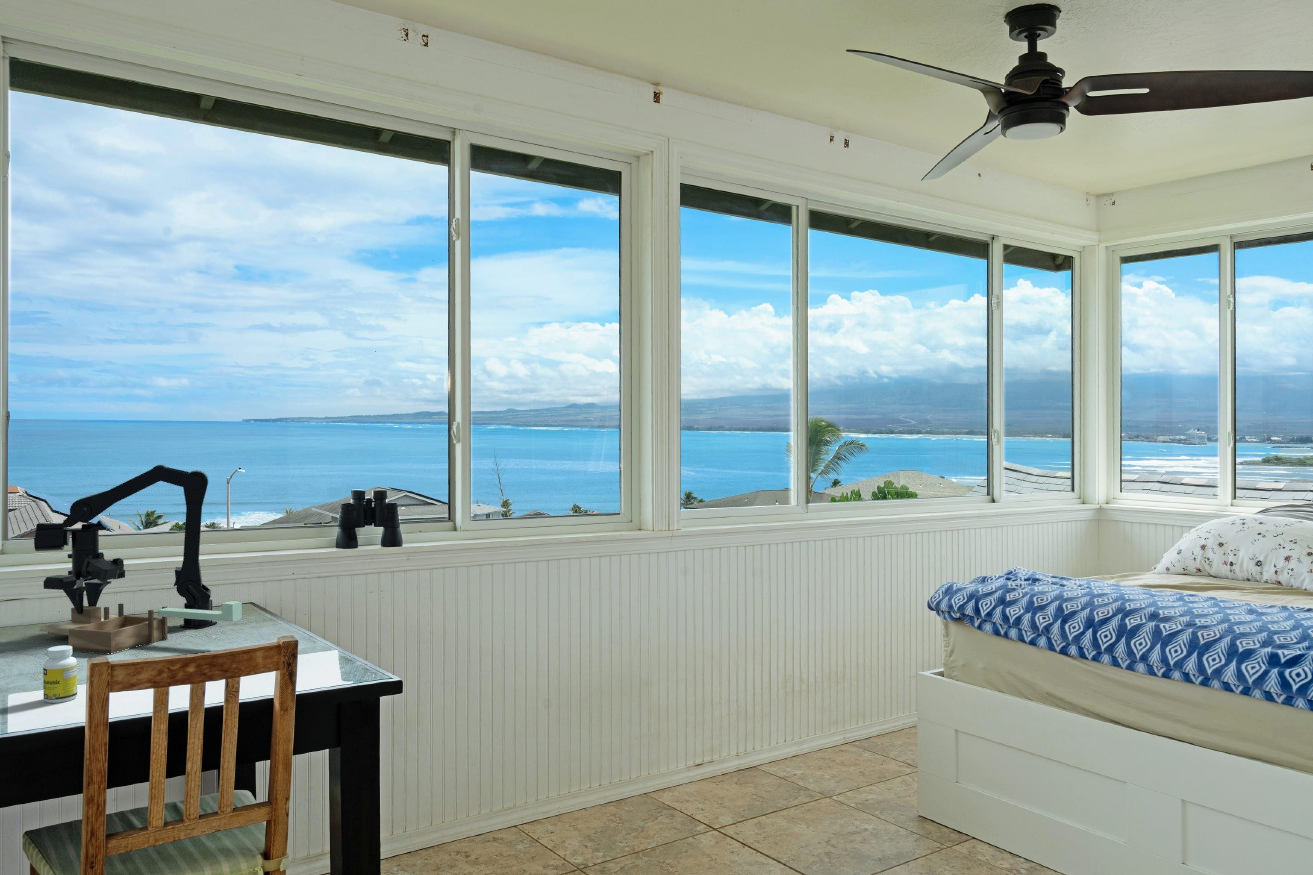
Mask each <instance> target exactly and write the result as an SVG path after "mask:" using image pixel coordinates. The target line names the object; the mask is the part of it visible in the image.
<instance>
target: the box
mask: <svg viewBox="0 0 1313 875" xmlns="http://www.w3.org/2000/svg"><path fill="white" fill-rule="evenodd" d="M164 608H168V606H162V607H161V609H164ZM124 609H125V608H124V603H118V604H117V611H118V612H117V616H118V617H116V618H112V619H109V615H110V607H109V606H104V607H103V615H104V621H99V622H95V623H91V624H87V625H83V626H79V627H75V628H71V629H69V635H68V646H72V652H76V651H80V652H79V653H88V652H94V653H93V654H100V653H109V654H108V655H112V654H111V653H114V652H117V651H121V652H123V651H122V650H125V649H128V648H132V649H134V648H133V647H135V648H137V647H136V646H139V645H142V646H145V645H144V644H146V645H149V644H148V643H154V644H155V642H154V641H156V642H158V640H160V641H162V640H161V639H168V637H169V636H168V635H169V634H168V617H159V616H155V615H154V609H149V610H147V616H142V615H129V614H128V615H127V614H124ZM154 616H155V617H154ZM168 640H169V639H168ZM139 647H140V646H139ZM128 650H129V649H128ZM125 651H126V650H125Z"/></svg>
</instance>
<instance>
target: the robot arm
mask: <svg viewBox="0 0 1313 875" xmlns="http://www.w3.org/2000/svg"><path fill="white" fill-rule="evenodd" d="M159 482H162V483H167V484H169V485H173V486H177V487H181V488H183V494H184V501H185V507H186V509H185V510H186V511H185V522H184V523H185V526H184V540H183V541H184V543H183V556H182V557H183V558H182V559H183V560H182V564H181V567H180V566H176V567H175V568H174V576H175V580H174V584H173V587H176V593H177V594H178V595H179V596H180V597H181V598H184V599H185V601H186V602H184V603H183V607H184V608H183V609H195V610H210V611H213V599H211V595H212V590H211V589H210V588H209V587H208V586H206V585H205V584H204V582H203V578H202V577H203V576H202V570H201V564H200V550H201V549H200V546H201V545H200V544H201V531H202V529H201V528H202V517H203V516H202V514H203V505H204V501H205V499H206V498H205V497H206V493H207V489H208V485H209V477H208V475H207V474H206V473H205V471H202V470H197V469H196V470H191V471H187V470H181V469H178V468H174V467H169V466H166V465H164V464H158V465H154V466H153V467H152V468H151V469H149V470H147V471H145V472H143V473H141V474H139V475H136V476H134V477H133V478H130V479H128V480H126V481H124V482H122V483H120V484H118V485H116V486H114V487H112V488H110V489H108V490H104V491H100V492H97V493H94V494H90V495H87V496H85V497H81V498H79V499H77V500H75V501H74V502H73V503H72V504H71V506H70V508H69V515H68V516H67V517H66V518H64V519H63V520H62V522H53V523H48V522H37V523H36V525H35V526H36V528H35V535H34V537H33V538H34V539H33V545H34V550H35V552H53V551H55V552H56V551H64V550H65V547H68V546H69V545H70V532H71V553H68V554H67V559H71V570H67V574H56V575H51V576H50V575H49V576H47V577H45V579H44V580H43V590H57V591H63V592H64V594H65V595H66V596H67V598H68V599H69V601H70V603H71V604H72V606H73V608H75V609H76V611H77V613H78V614H83V606H84V602H85V601H84V598H85V597H84V596H86V602H87V606H94V607H97V606H98V603H99V600H100V597H101V594H102V592H103V590H104V589H105V588H106V587H107V586H109V585H110V584H112V582H113V581H112V580H119V579H124V578H126V570H125V562H124V559H123V558H120V557H116V558H112V560H111V559H109V560H107V559H105V554H104V552H103V551H102V552H100V543H99V542H100V541H99V540H100V538H99V536H100V535H99V534H100V533H99V532H100V531H106V530H108V528H109V526H108V525H106V524H105V523H103V521H102V520H101V519H99V520H98V521H97V522H96V523H88V522H91V521H92V520H93V519H95V518H96V517H98V516H99V515H101V514H102V513H103V512H105V511H106V510H107V509H109V508H110V507H112V506H113V505H114V504H116V503H119V502H120V501H122V500H124V499H126V498H129V497H130V496H133V495H134V494H137V493H138V492H140V491H142V490H145V489H147V488H149V487H150V486H154V485H155V484H157V483H159ZM78 523H82V524H81V527H74V526H75V525H77V524H78ZM72 527H73V528H72ZM110 580H111V581H110ZM84 594H85V595H84ZM216 624H218V621H216V620H202V619H187V618H183V623H181V624H179V625H178V626H179V628H188V629H203V628H206V627H207V628H208V627H211V626H213V625H216Z"/></svg>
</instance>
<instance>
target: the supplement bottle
mask: <svg viewBox="0 0 1313 875" xmlns="http://www.w3.org/2000/svg"><path fill="white" fill-rule="evenodd" d="M46 651H47V655H46V656H47V657H48V659H47V660H46V661H44V663H43V667H42V673H43V674H42V675H43V677H42V678H43V681H42V684H43V687H42V688H43V694H42V695H43V701H44V702H45V703H46V704H47V703H48V704H59V703H67V702H69V701H72V700H75V699H76V698H77V697H78V660H77V659H76V658H75V657H74V656H72V655H73V651H72V646H69V645H56V646H52V647H49V648H47V650H46Z"/></svg>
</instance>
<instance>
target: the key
mask: <svg viewBox="0 0 1313 875" xmlns="http://www.w3.org/2000/svg"><path fill="white" fill-rule="evenodd" d="M242 605H243V603H242V601H235V600H233V601H232V600H231V601H226V602H223V603H221V610H212V611H210V610H195V609H184V608H177V607H167V608H164V609H162V608H160V609H158V610H157V617H159V618H162V617H167V618H175V619H176V618H177V619H184V618H187V619H202V620H212V621H217V622H231V623H232V622H236V621H237V622H238V621H240V620H243V617H242V616H243V612H242V611H243V606H242Z"/></svg>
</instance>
